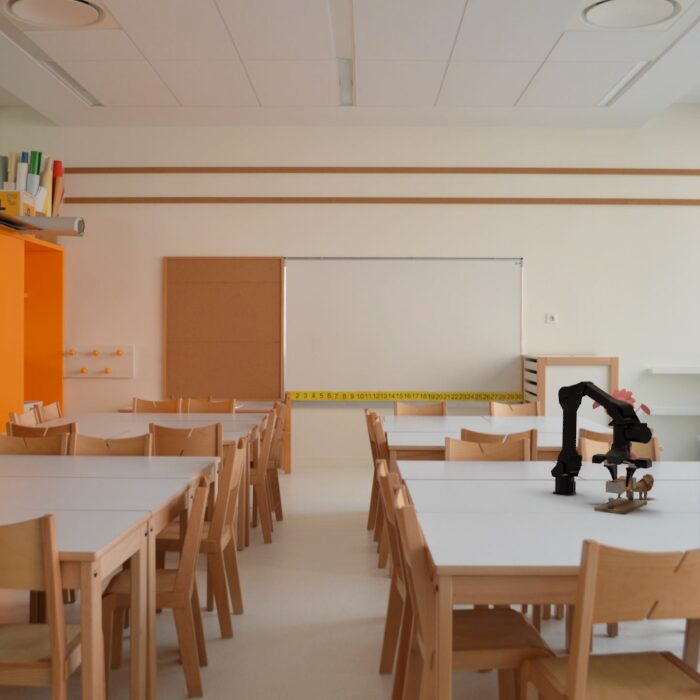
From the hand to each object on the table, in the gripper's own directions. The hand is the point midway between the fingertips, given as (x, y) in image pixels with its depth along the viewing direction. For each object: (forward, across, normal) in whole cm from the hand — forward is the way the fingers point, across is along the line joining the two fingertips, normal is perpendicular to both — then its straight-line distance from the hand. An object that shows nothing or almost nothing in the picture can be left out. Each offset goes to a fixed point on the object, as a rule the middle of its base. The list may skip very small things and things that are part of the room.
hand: (621, 486), depth 266 cm
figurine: (+8, -37, +102) cm, 109 cm away
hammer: (+1, 0, 0) cm, 1 cm away
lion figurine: (+7, -1, +17) cm, 19 cm away
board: (+7, 0, 0) cm, 7 cm away
